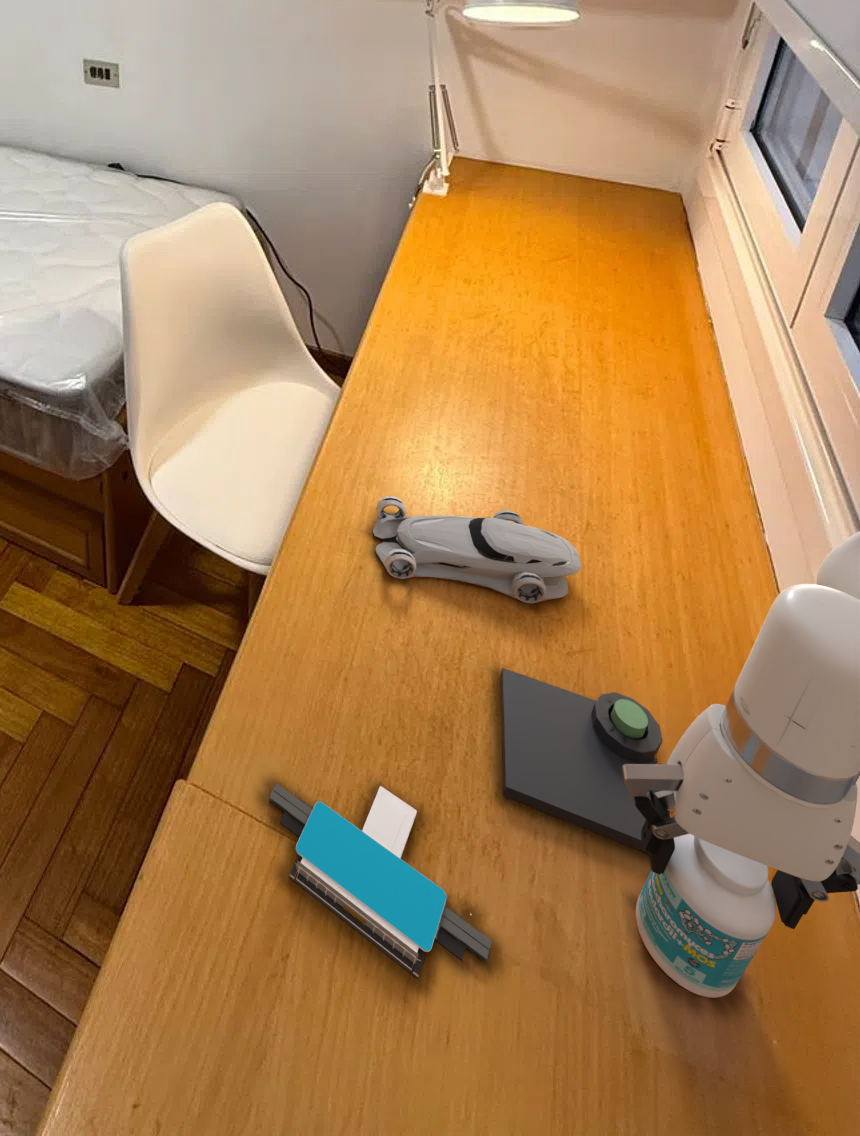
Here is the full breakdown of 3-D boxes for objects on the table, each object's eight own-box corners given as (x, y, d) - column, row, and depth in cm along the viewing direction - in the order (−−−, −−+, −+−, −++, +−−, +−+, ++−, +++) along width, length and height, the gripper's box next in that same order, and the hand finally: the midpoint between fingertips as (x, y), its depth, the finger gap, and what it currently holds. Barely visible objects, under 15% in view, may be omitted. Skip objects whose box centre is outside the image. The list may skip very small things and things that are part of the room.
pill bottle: (613, 912, 73) (655, 817, 68) (673, 877, 76) (718, 783, 70) (694, 1021, 67) (748, 926, 62) (757, 979, 69) (813, 884, 64)
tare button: (641, 715, 86) (645, 705, 86) (646, 743, 84) (650, 733, 83) (608, 704, 87) (612, 694, 87) (612, 731, 85) (616, 721, 84)
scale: (648, 724, 88) (655, 706, 87) (673, 864, 77) (683, 844, 75) (499, 672, 93) (505, 653, 92) (503, 795, 82) (509, 776, 80)
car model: (369, 509, 114) (374, 481, 112) (559, 538, 110) (568, 510, 108) (378, 579, 104) (384, 549, 102) (588, 613, 100) (598, 583, 98)
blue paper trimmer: (507, 878, 75) (510, 867, 75) (471, 1021, 66) (475, 1010, 66) (301, 737, 86) (303, 726, 86) (246, 843, 77) (248, 832, 77)
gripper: (914, 739, 61) (830, 878, 68) (643, 650, 67) (590, 786, 74) (965, 849, 55) (867, 991, 61) (660, 740, 61) (600, 880, 67)
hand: (716, 879), depth 68 cm, fingers open, 8 cm apart
